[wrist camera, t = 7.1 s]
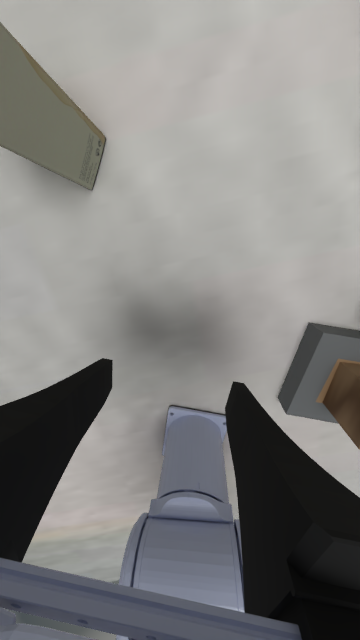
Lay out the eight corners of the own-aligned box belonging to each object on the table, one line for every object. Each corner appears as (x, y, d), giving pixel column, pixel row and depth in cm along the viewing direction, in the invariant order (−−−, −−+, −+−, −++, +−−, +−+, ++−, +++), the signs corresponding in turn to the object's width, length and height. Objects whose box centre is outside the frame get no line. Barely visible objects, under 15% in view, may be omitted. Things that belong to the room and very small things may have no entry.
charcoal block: (357, 408, 24) (379, 430, 21) (276, 394, 24) (286, 414, 21) (404, 336, 20) (437, 351, 17) (306, 320, 20) (323, 332, 17)
